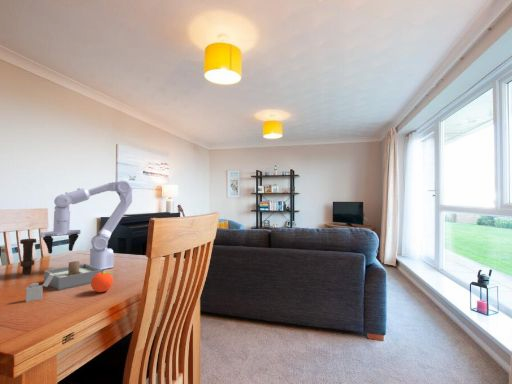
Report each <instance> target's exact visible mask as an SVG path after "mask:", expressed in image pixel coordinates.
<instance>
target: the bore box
mask: <svg viewBox="0 0 512 384" xmlns="http://www.w3.org/2000/svg"><path fill="white" fill-rule="evenodd" d="M68 269H69V266H64V267H59V268H53V269H47V270H46V269H45V270H44V271H43V283H44V282H45V280H46V278H47V277H48V275H49V273H52V274H54V277H53V278H52V280H51V282H50V283H49V285H48V286H50V287H51V288H53V289H55V290H57V291H58V292H59V291H63V290H68V289H73V288H77V287H80V286H81V287H82V286H85V285H89V284H90V285H91V281H92V279H93V277H94V276H95V275H96V274H98V273H101V272H104V269H100V268H97V267H94V266H91V265H90V264H88V263H82V264H79V274H75V275H70V276H68Z"/></svg>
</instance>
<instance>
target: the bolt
mask: <svg viewBox="0 0 512 384" xmlns="http://www.w3.org/2000/svg"><path fill="white" fill-rule="evenodd" d="M19 243H20V244H21V245H22V247H23V248H22V261H20V267H22V271H21V272H22V273H21V274H22V275H29V274H31V273H32V268H33V267H32V266H34V265H35V260H34V259H33V250H34V249H33V248H34V244H36V243H37V239H36V238H23V239H20V241H19Z"/></svg>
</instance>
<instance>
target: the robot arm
mask: <svg viewBox="0 0 512 384" xmlns="http://www.w3.org/2000/svg"><path fill="white" fill-rule="evenodd" d="M105 192H116V193H117V195H118V196H119V200H120V201H119V203H117V205H116V207H115V209H114V211H113V212H112V213H111V215H110V217H109V218H108V219H107V221H106V223H104V225H103V227H101V229H100V230H99V232H98V233H97V234H95V235H94V236H93V237H92V238H91V240H90V243H91V245H92V247H91V248H90V250H89V251H90V252H89V265H91V266H94V267H97V268H100V269H103V270H107V269H111V268H115V266H114V258H115V257H114V256H115V255H114V250H113V249H112V248H108V244H109V240H110V239H111V235H112V233H113V232H114V230H115V229H116V227H117V226H118V224H119V222H120V221H121V219H122V218H123V217H124V215H125V214H126V212H127V211H128V209H129V207H130V205H131V204H132V203H133V187H132V185H131V183H130V182H129V181H128V180H124V179H123V180H120V181H114V182H113V181H112V182H108V183H105V184H102V185H99V186H95V187H93V188H89V189H86V188H84V187H83V188H80V187H79V188H76V190H72V191H70V192H67V191H66V192H64V194H60V195H57V196H56V197H55V198H54V199H53V200H54V201H53V202H54V205H55V206H54V212H53V231H46V232H45V231H44V232H40V234H39V235H40V238H42V240H43V242H44V243H45V245H46V248H47V253H48V254H50V255H51V254H53V241H54V238H53V237H61V236H68V251H70V252H72V251H73V249H74V246H75V244H76V242H77V240H78V239H79V235H81V229H73V230H72V229H71V230H70V218H71V217H70V216H71V211H70V205H77V204H79V203H82V202H85V201H89V199H90V197H91V196H96V195H98V194H101V193H105Z"/></svg>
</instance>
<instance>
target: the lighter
mask: <svg viewBox="0 0 512 384" xmlns="http://www.w3.org/2000/svg"><path fill="white" fill-rule="evenodd" d="M53 277H54V274H52V273H49V275H48V277H47V278H46V280H45V282H44V281H43V283H42V284H40V285H39V283H40V282H34V283H30V284H29V285H28V286H26V288H25V303H27V302H29V303H30V302H33V301H39V300H43V291H44V290H43V288H44V287H45V288H48V286H50V285H49V283H50V282H51V280H52V278H53Z"/></svg>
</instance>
